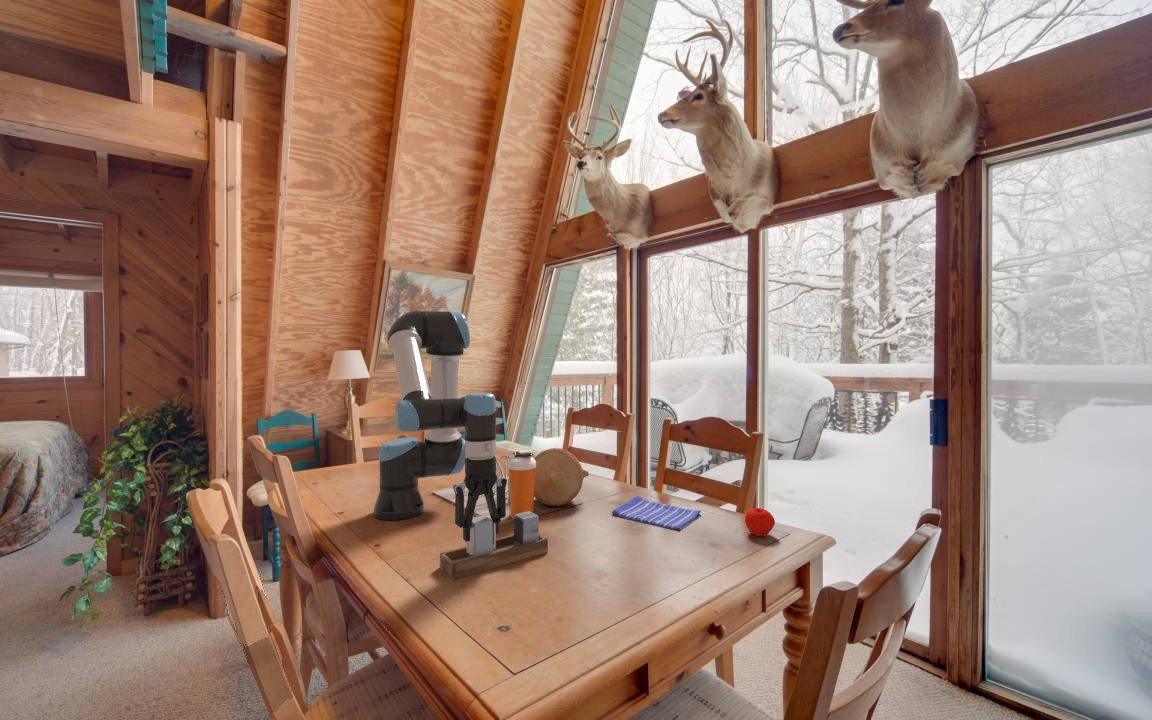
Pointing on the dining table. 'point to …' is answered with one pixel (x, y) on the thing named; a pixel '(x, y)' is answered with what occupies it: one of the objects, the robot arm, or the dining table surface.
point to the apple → (759, 521)
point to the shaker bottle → (521, 482)
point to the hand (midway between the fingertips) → (481, 550)
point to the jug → (557, 477)
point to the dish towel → (656, 513)
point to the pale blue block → (483, 535)
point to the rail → (499, 549)
